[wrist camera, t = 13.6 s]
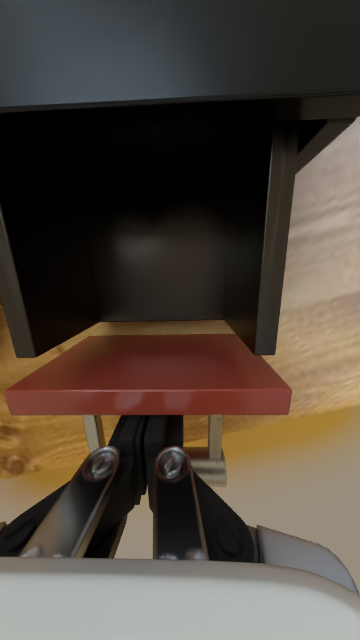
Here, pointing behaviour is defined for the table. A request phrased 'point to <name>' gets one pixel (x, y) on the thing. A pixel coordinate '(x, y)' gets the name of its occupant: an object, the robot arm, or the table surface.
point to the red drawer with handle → (148, 271)
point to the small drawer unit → (180, 65)
